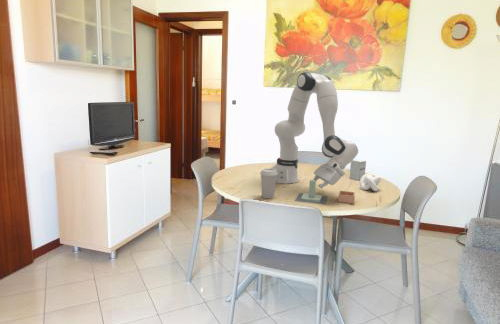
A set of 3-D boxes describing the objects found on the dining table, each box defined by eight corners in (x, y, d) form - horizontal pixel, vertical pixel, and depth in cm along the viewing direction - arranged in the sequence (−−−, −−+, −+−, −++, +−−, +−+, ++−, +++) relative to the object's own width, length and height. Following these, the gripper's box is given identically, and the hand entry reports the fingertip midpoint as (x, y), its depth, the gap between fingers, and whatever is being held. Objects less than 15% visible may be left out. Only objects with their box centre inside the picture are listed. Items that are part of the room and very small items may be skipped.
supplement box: (358, 180, 235) (360, 161, 233) (349, 178, 241) (350, 159, 238) (364, 179, 240) (366, 160, 237) (355, 176, 246) (357, 158, 243)
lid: (300, 200, 188) (302, 181, 186) (303, 194, 197) (304, 177, 195) (320, 202, 185) (321, 183, 183) (321, 197, 195) (323, 179, 193)
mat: (294, 201, 186) (294, 201, 186) (299, 193, 201) (299, 192, 201) (325, 205, 182) (325, 204, 182) (327, 196, 197) (328, 196, 197)
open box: (338, 202, 187) (338, 194, 186) (338, 198, 194) (339, 190, 193) (353, 204, 184) (354, 196, 183) (354, 200, 192) (354, 192, 191)
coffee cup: (280, 197, 194) (281, 170, 191) (269, 200, 187) (270, 173, 184) (266, 193, 200) (267, 167, 197) (255, 196, 193) (256, 169, 190)
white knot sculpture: (356, 190, 212) (357, 175, 210) (362, 186, 222) (363, 172, 220) (375, 193, 206) (377, 178, 204) (380, 189, 216) (382, 174, 214)
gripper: (322, 159, 200) (305, 176, 199) (339, 166, 180) (320, 186, 180) (329, 166, 201) (312, 184, 201) (346, 175, 182) (328, 194, 182)
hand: (316, 185), depth 190 cm, fingers open, 8 cm apart
